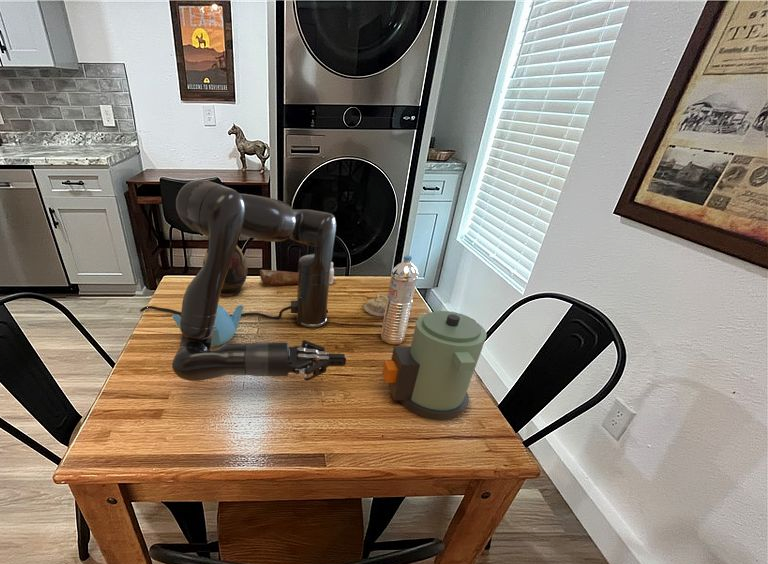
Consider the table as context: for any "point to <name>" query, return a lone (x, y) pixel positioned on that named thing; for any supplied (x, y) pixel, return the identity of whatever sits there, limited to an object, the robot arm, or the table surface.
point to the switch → (390, 371)
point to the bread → (278, 277)
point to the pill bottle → (331, 273)
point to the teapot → (222, 325)
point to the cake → (376, 305)
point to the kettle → (438, 365)
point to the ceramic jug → (233, 273)
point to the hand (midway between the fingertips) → (345, 359)
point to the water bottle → (399, 302)
